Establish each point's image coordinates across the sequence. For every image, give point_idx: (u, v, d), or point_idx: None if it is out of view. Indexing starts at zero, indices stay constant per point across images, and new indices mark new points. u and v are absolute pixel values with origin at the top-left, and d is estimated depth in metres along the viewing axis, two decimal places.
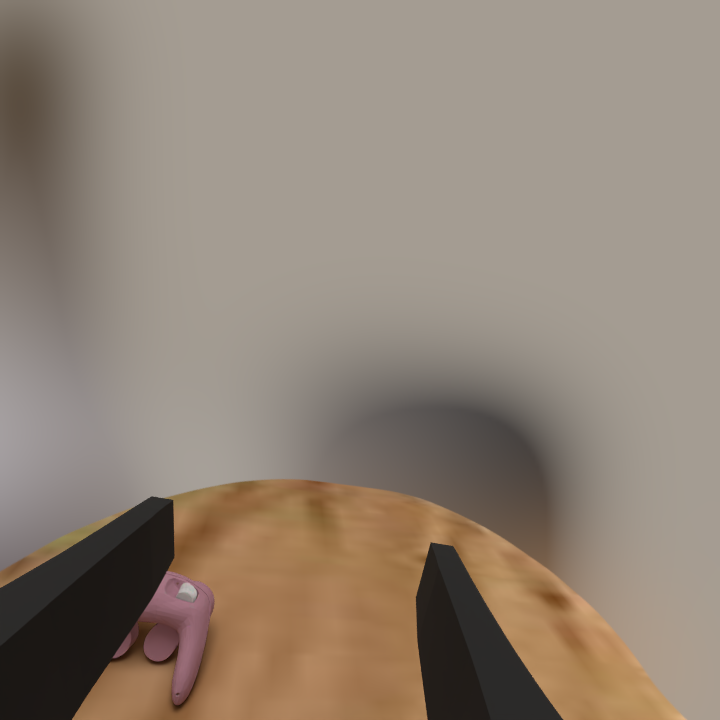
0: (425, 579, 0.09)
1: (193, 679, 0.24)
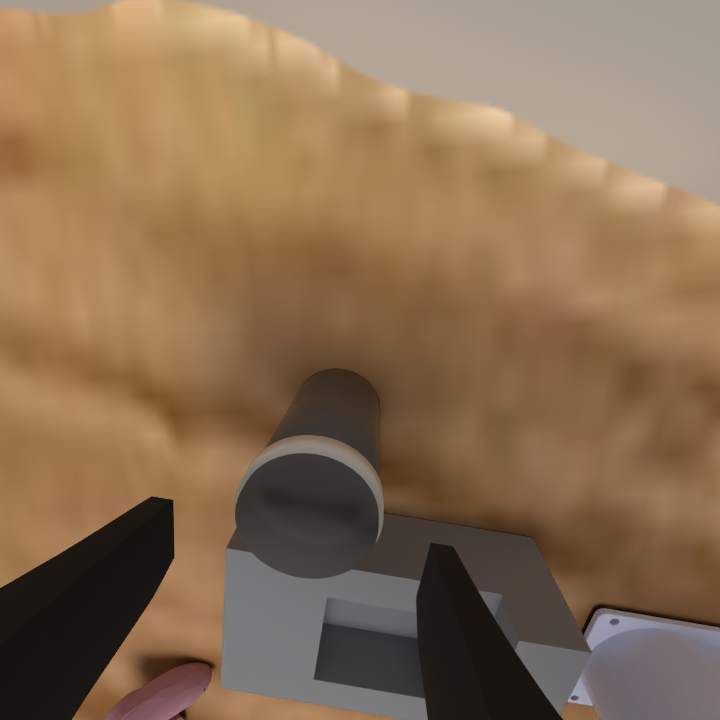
0: (425, 579, 0.09)
1: (190, 673, 0.24)
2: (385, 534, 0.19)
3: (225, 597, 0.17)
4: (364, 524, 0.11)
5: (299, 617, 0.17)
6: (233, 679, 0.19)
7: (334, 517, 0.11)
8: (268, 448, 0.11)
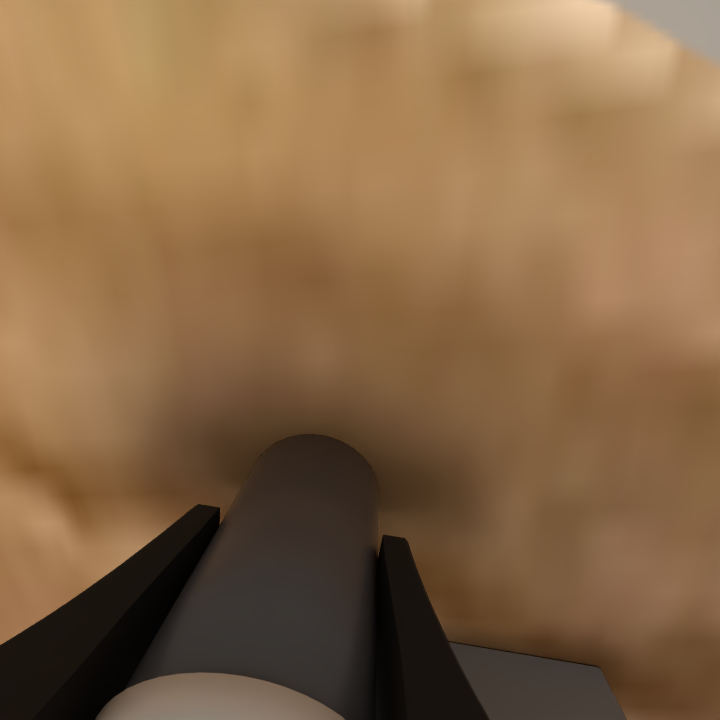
0: (377, 571, 0.09)
1: None
2: None
3: None
4: None
5: None
6: None
7: None
8: (122, 703, 0.05)
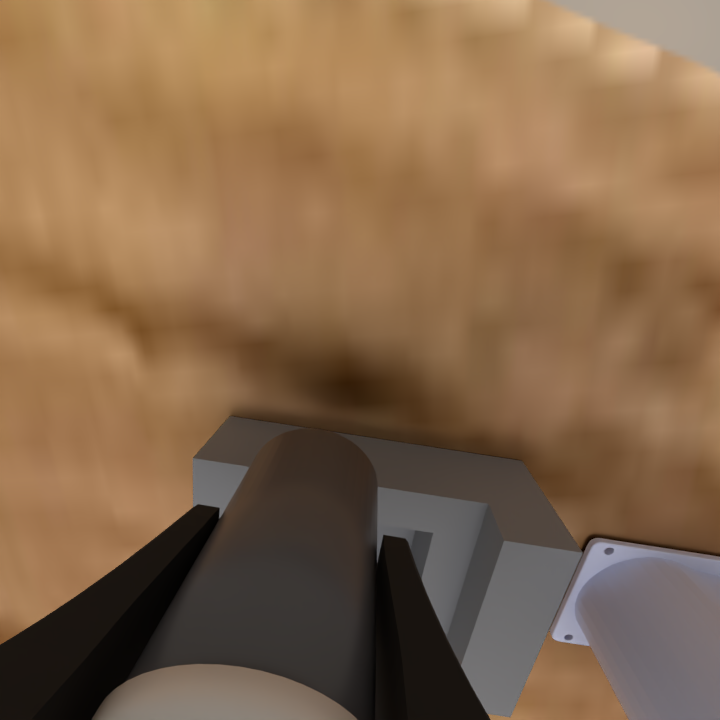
0: (377, 571, 0.09)
1: None
2: (365, 453, 0.18)
3: None
4: None
5: None
6: None
7: None
8: (122, 695, 0.05)
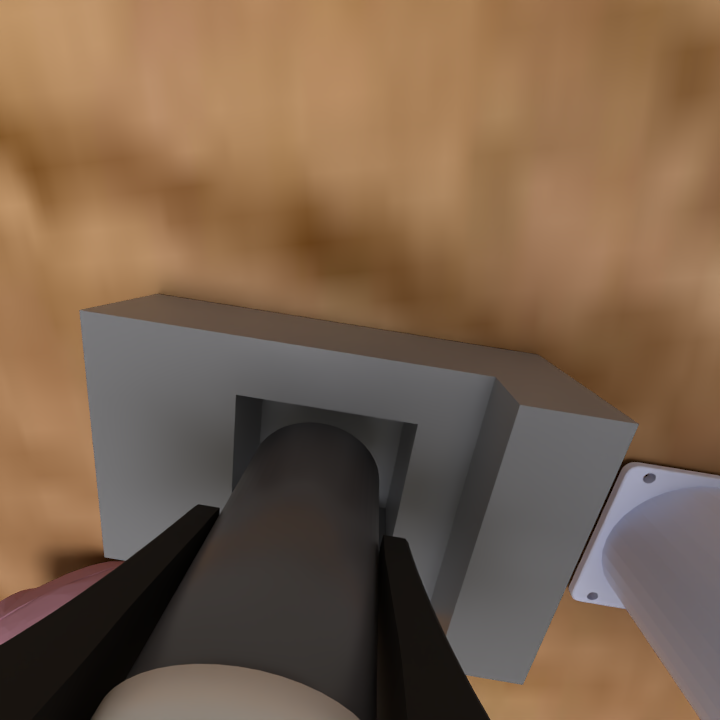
0: None
1: (108, 570, 0.18)
2: (330, 330, 0.13)
3: (90, 401, 0.12)
4: None
5: (199, 432, 0.12)
6: (119, 542, 0.14)
7: None
8: (119, 695, 0.05)
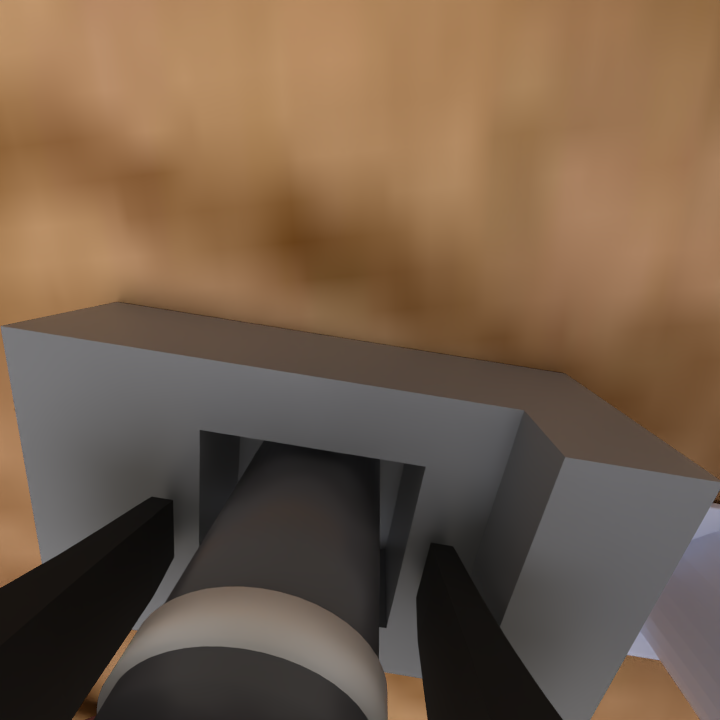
0: (425, 579, 0.09)
1: None
2: (318, 347, 0.11)
3: (22, 436, 0.10)
4: None
5: (156, 474, 0.10)
6: None
7: None
8: (159, 614, 0.06)
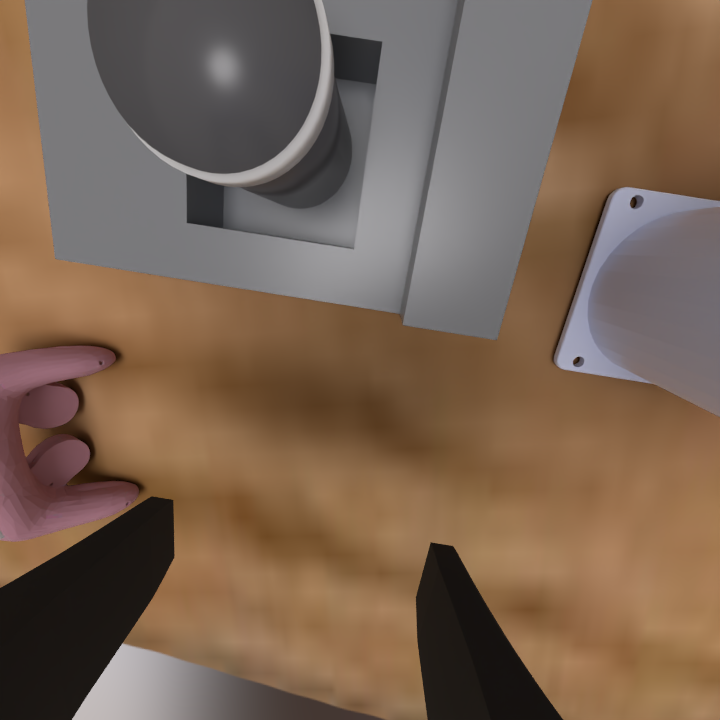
0: (425, 579, 0.09)
1: (83, 347, 0.18)
2: None
3: (30, 32, 0.11)
4: (294, 28, 0.06)
5: None
6: (70, 236, 0.13)
7: (245, 18, 0.06)
8: None
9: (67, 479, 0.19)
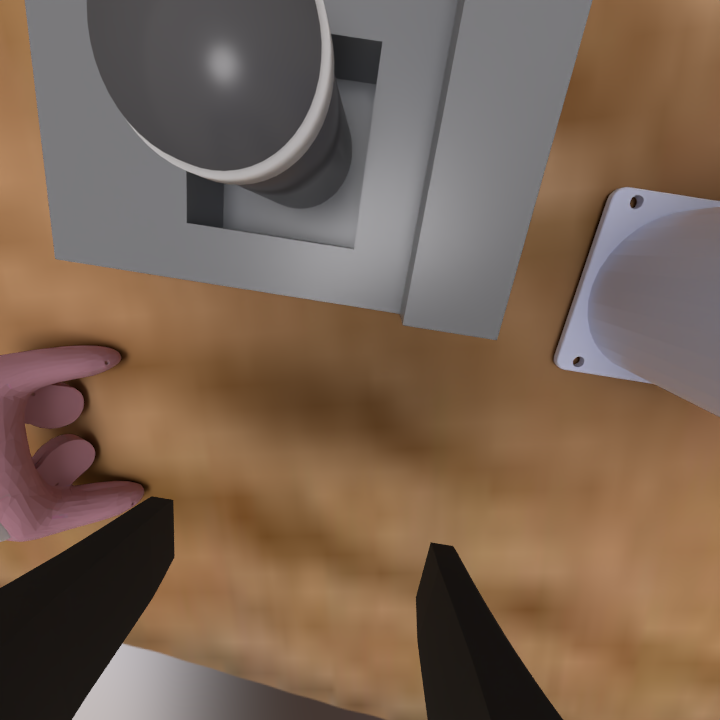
0: (425, 579, 0.09)
1: (88, 347, 0.18)
2: None
3: (30, 32, 0.11)
4: (294, 24, 0.06)
5: None
6: (70, 236, 0.13)
7: (245, 14, 0.06)
8: None
9: (72, 479, 0.19)
